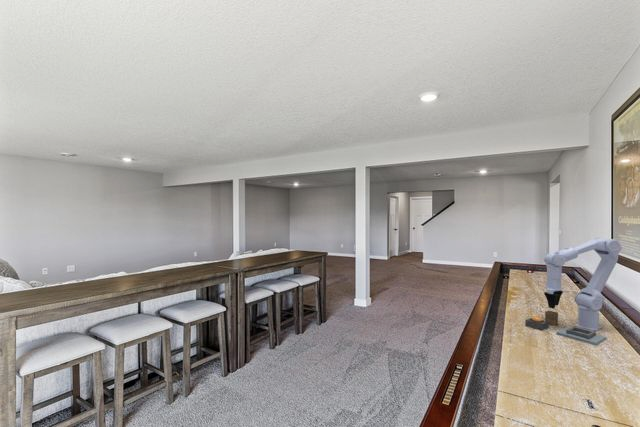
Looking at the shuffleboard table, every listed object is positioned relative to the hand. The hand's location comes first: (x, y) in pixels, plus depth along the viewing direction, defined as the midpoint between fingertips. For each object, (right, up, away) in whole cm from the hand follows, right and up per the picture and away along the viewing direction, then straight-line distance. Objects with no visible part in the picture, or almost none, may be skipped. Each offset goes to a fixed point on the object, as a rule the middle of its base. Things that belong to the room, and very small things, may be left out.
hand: (553, 306), depth 154 cm
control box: (-9, -9, -2) cm, 13 cm away
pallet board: (+2, -10, -13) cm, 16 cm away
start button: (-9, -7, -2) cm, 12 cm away
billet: (+1, -10, +3) cm, 10 cm away
